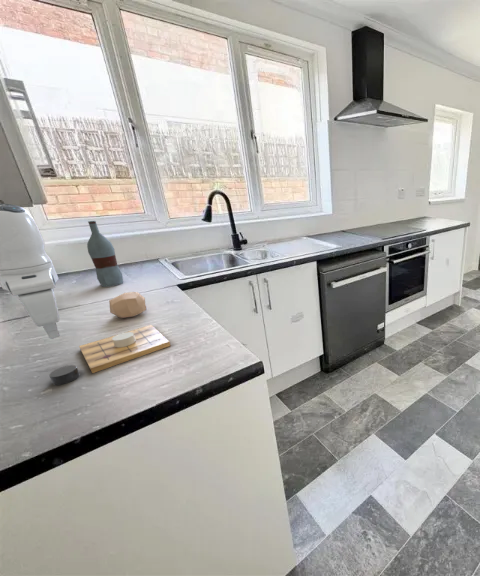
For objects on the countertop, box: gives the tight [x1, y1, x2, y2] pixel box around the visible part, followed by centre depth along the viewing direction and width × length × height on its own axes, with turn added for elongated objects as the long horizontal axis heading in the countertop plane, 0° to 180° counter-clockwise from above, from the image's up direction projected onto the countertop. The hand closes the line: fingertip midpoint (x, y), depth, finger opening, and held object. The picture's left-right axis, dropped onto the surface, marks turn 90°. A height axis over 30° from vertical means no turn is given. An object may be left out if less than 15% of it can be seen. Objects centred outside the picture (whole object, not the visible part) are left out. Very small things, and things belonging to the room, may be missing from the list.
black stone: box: [48, 364, 81, 386], centre depth 78 cm, size 5×5×2 cm
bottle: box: [86, 220, 124, 288], centre depth 144 cm, size 9×9×30 cm
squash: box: [108, 291, 147, 319], centre depth 116 cm, size 11×20×9 cm, turn 37°
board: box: [78, 324, 172, 374], centre depth 92 cm, size 18×18×2 cm
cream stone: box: [112, 331, 136, 348], centre depth 92 cm, size 5×5×2 cm
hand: (52, 330), depth 75 cm, fingers open, 8 cm apart
